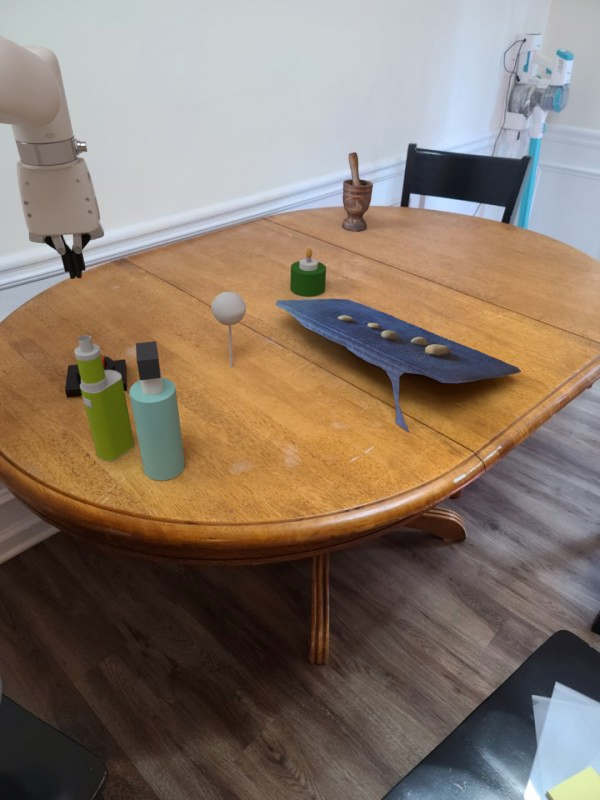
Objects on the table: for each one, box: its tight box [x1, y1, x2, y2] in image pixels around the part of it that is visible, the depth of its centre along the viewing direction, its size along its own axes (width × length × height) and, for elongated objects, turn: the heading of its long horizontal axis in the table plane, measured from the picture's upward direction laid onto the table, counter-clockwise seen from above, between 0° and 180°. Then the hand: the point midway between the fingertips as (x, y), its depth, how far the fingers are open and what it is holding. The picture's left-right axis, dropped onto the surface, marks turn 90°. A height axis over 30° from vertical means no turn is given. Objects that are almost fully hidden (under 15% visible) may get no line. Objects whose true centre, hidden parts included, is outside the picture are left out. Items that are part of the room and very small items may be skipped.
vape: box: [73, 334, 135, 463], centre depth 80 cm, size 4×6×20 cm, turn 147°
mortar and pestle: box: [341, 151, 374, 233], centre depth 166 cm, size 12×9×20 cm
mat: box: [274, 298, 522, 434], centre depth 109 cm, size 45×27×12 cm, turn 42°
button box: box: [64, 355, 128, 399], centre depth 100 cm, size 10×8×4 cm
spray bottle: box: [128, 340, 186, 482], centre depth 77 cm, size 6×6×20 cm
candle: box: [289, 248, 327, 298], centre depth 131 cm, size 8×8×10 cm
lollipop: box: [210, 290, 247, 368], centre depth 101 cm, size 6×6×15 cm
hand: (76, 274), depth 89 cm, fingers closed
